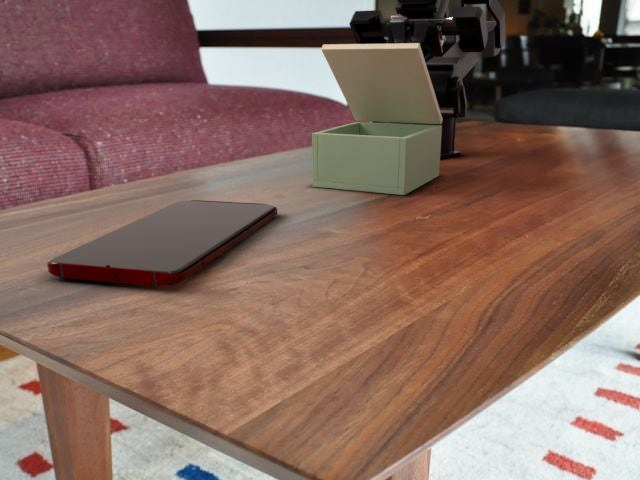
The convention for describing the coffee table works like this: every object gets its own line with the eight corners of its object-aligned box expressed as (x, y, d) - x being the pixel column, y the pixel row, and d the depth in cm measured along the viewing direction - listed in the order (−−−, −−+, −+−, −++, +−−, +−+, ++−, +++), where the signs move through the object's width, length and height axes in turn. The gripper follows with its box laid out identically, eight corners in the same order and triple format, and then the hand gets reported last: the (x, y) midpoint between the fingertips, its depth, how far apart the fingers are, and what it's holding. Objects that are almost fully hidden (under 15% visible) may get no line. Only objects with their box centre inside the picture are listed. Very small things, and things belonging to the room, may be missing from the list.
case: (404, 195, 81) (406, 138, 79) (312, 186, 87) (311, 133, 84) (439, 176, 92) (442, 125, 90) (356, 169, 98) (356, 121, 96)
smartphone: (282, 203, 73) (177, 272, 50) (282, 217, 73) (178, 292, 51) (179, 197, 76) (38, 261, 53) (180, 211, 76) (40, 279, 54)
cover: (417, 48, 77) (419, 42, 78) (321, 49, 83) (323, 44, 83) (441, 124, 90) (442, 119, 90) (355, 120, 95) (357, 116, 95)
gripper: (355, -52, 93) (320, 33, 88) (489, -63, 85) (458, 30, 80) (376, 11, 103) (345, 91, 98) (499, 7, 94) (471, 94, 89)
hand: (400, 77), depth 91 cm, fingers closed
